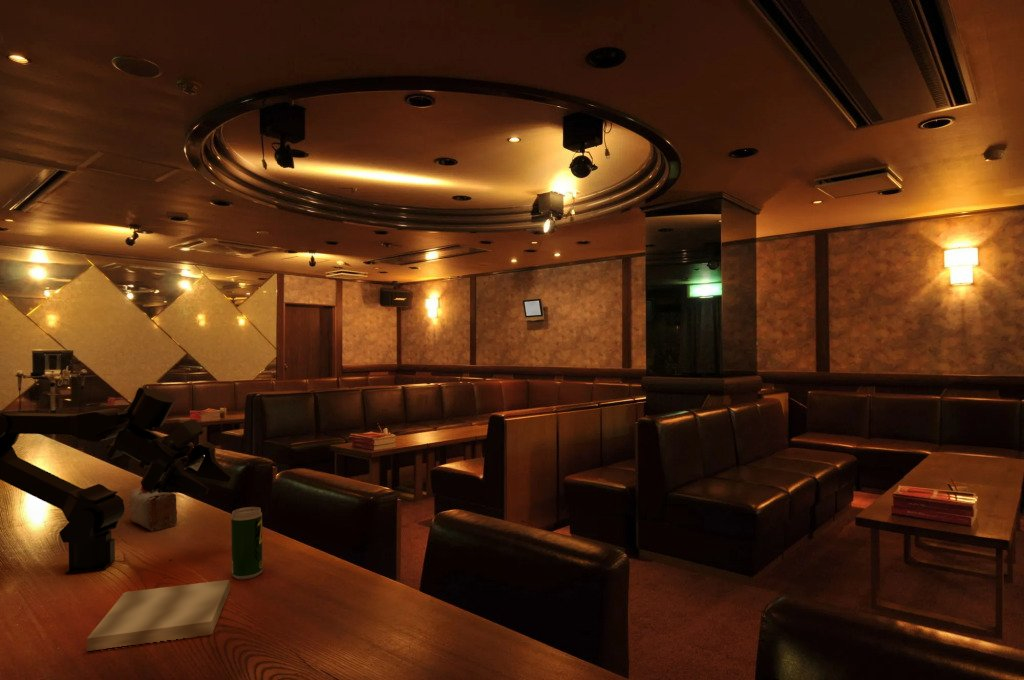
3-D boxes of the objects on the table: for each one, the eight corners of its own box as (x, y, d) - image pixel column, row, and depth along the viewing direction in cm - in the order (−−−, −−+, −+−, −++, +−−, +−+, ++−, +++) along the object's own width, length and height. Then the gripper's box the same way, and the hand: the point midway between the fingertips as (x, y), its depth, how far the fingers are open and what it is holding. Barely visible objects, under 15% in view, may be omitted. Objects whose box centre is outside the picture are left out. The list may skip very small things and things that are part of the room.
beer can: (234, 582, 107) (233, 516, 107) (229, 573, 112) (228, 509, 112) (265, 575, 110) (264, 511, 110) (260, 566, 115) (259, 504, 115)
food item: (125, 522, 144) (124, 482, 144) (160, 514, 150) (160, 476, 150) (146, 534, 135) (146, 490, 135) (183, 525, 142) (183, 484, 141)
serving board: (87, 652, 84) (86, 638, 84) (125, 604, 99) (124, 592, 99) (211, 634, 88) (211, 621, 88) (229, 591, 104) (229, 579, 104)
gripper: (138, 418, 106) (215, 459, 107) (193, 406, 125) (258, 440, 125) (109, 472, 106) (186, 513, 107) (168, 452, 125) (233, 487, 125)
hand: (219, 485), depth 116 cm, fingers open, 9 cm apart
